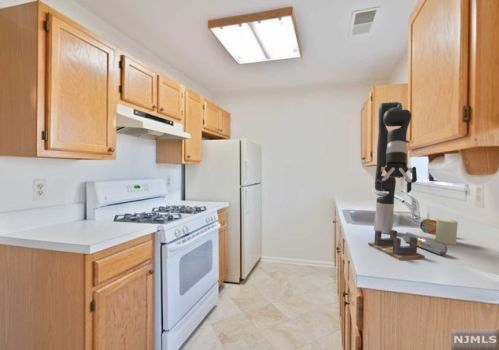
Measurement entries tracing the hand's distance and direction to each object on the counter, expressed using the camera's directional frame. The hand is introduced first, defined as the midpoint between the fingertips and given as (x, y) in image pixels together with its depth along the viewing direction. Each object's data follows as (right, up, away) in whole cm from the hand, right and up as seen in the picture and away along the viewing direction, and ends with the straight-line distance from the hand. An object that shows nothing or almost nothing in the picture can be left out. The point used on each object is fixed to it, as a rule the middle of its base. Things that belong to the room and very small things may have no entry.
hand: (395, 191), depth 107 cm
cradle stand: (+8, -28, +15) cm, 33 cm away
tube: (+25, -29, +21) cm, 43 cm away
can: (+45, -29, +33) cm, 63 cm away
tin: (+50, -28, +49) cm, 75 cm away
